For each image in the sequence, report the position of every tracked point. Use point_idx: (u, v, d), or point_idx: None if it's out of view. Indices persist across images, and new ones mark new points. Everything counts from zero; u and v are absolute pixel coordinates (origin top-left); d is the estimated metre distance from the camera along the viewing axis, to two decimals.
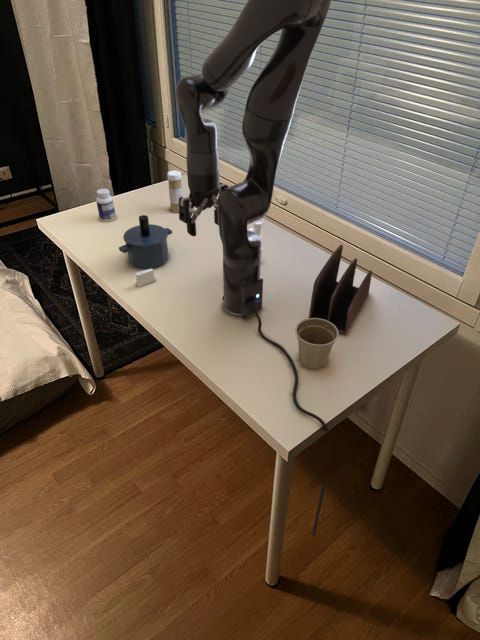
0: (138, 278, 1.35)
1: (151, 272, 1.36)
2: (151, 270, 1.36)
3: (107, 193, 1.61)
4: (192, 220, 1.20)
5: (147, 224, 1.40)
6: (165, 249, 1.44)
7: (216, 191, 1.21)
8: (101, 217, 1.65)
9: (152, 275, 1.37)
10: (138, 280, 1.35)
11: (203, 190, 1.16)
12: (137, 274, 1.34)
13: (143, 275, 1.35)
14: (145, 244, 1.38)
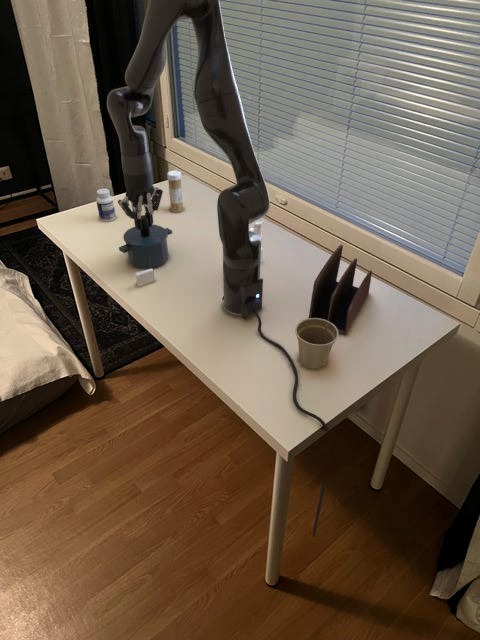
0: (138, 278, 1.35)
1: (151, 272, 1.36)
2: (151, 270, 1.36)
3: (107, 193, 1.61)
4: (138, 216, 1.36)
5: (147, 224, 1.40)
6: (165, 249, 1.44)
7: (151, 189, 1.35)
8: (101, 217, 1.65)
9: (152, 275, 1.37)
10: (138, 280, 1.35)
11: (137, 188, 1.30)
12: (137, 274, 1.34)
13: (143, 275, 1.35)
14: (145, 244, 1.38)
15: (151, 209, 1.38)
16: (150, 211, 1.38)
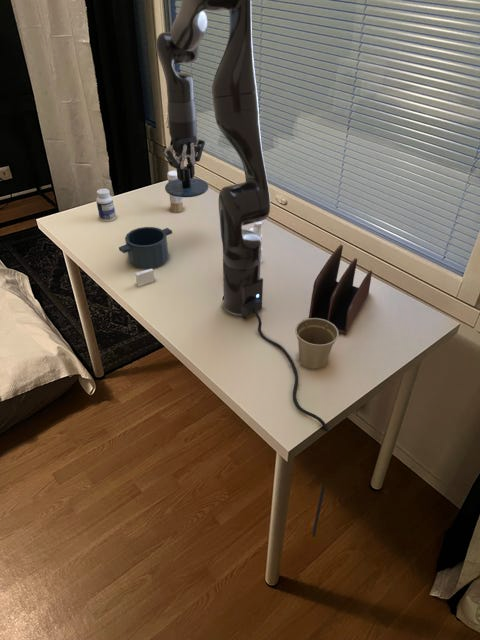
0: (138, 278, 1.35)
1: (151, 272, 1.36)
2: (151, 270, 1.36)
3: (107, 193, 1.61)
4: (181, 166, 1.39)
5: (189, 175, 1.42)
6: (165, 249, 1.44)
7: (194, 139, 1.38)
8: (101, 217, 1.65)
9: (152, 275, 1.37)
10: (138, 280, 1.35)
11: (182, 136, 1.32)
12: (137, 274, 1.34)
13: (143, 275, 1.35)
14: (187, 194, 1.41)
15: (193, 160, 1.41)
16: (192, 162, 1.41)
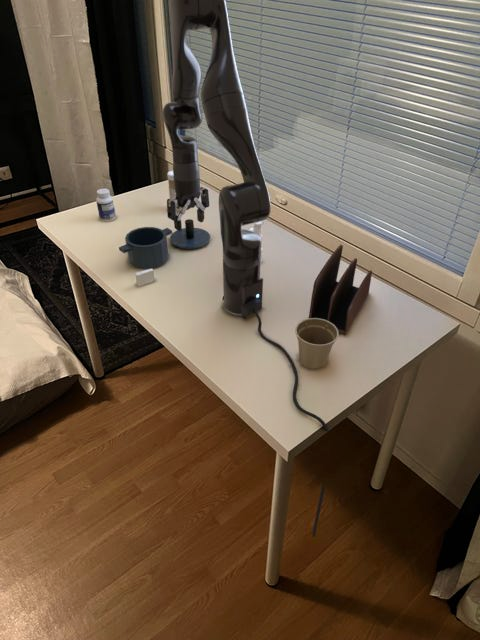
0: (138, 278, 1.35)
1: (151, 272, 1.36)
2: (151, 270, 1.36)
3: (107, 193, 1.61)
4: (178, 218, 1.47)
5: (192, 227, 1.53)
6: (165, 249, 1.44)
7: (198, 194, 1.48)
8: (101, 217, 1.65)
9: (152, 275, 1.37)
10: (138, 280, 1.35)
11: (186, 193, 1.42)
12: (137, 274, 1.34)
13: (143, 275, 1.35)
14: (191, 246, 1.51)
15: (202, 207, 1.51)
16: (202, 208, 1.52)
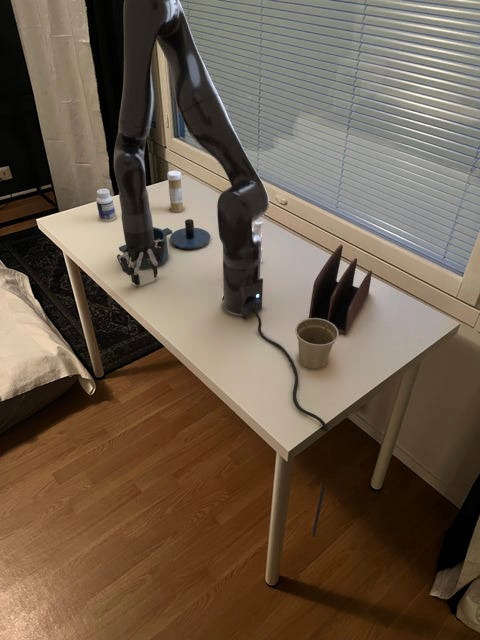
0: None
1: (151, 272, 1.36)
2: (151, 270, 1.36)
3: (107, 193, 1.61)
4: None
5: (192, 227, 1.53)
6: (165, 249, 1.44)
7: None
8: (101, 217, 1.65)
9: (152, 275, 1.37)
10: None
11: None
12: None
13: (143, 275, 1.35)
14: (191, 246, 1.51)
15: None
16: None
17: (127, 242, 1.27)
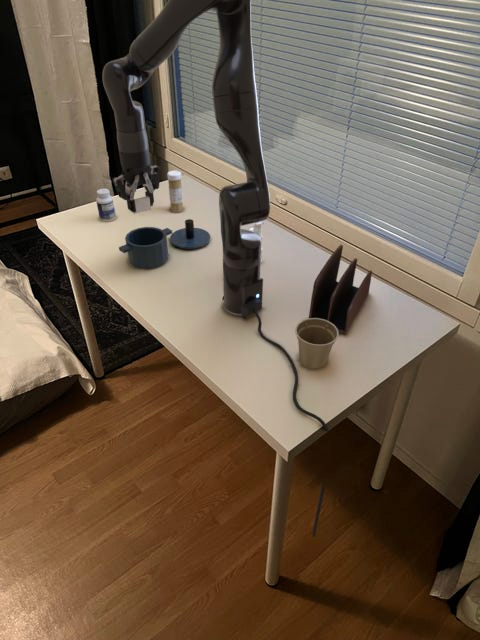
0: None
1: (147, 199, 1.35)
2: (147, 197, 1.35)
3: (107, 193, 1.61)
4: None
5: (192, 227, 1.53)
6: (165, 249, 1.44)
7: None
8: (101, 217, 1.65)
9: (148, 203, 1.36)
10: None
11: None
12: None
13: (139, 202, 1.34)
14: (191, 246, 1.51)
15: None
16: None
17: (123, 164, 1.25)
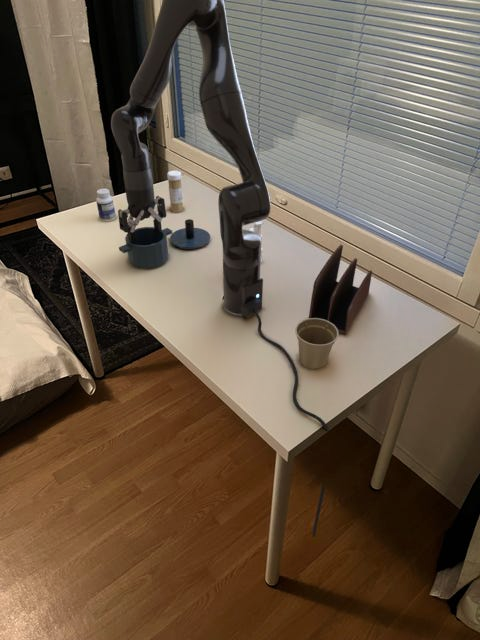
0: None
1: None
2: None
3: (107, 193, 1.61)
4: None
5: (192, 227, 1.53)
6: (165, 249, 1.44)
7: None
8: (101, 217, 1.65)
9: None
10: None
11: None
12: None
13: None
14: (191, 246, 1.51)
15: None
16: None
17: (129, 200, 1.33)
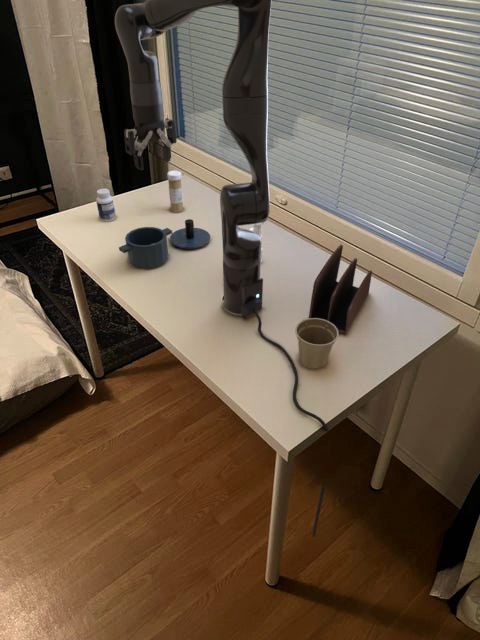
0: None
1: None
2: None
3: (107, 193, 1.61)
4: None
5: (192, 227, 1.53)
6: (165, 249, 1.44)
7: None
8: (101, 217, 1.65)
9: None
10: None
11: None
12: None
13: None
14: (191, 246, 1.51)
15: None
16: None
17: (136, 118, 1.21)
